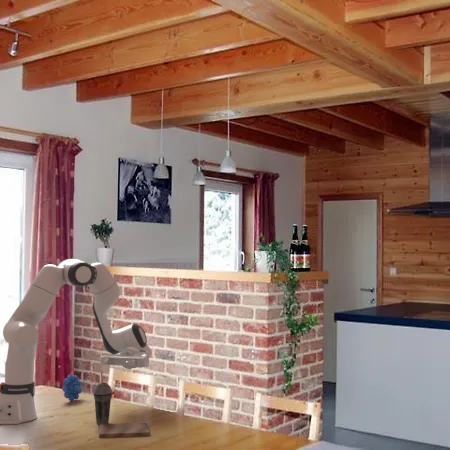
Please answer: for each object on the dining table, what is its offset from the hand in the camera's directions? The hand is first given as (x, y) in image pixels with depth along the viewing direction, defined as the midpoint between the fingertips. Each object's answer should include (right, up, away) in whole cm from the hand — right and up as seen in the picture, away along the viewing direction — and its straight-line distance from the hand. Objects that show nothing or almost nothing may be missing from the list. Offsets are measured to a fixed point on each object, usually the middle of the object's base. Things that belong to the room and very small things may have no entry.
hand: (116, 363), depth 274 cm
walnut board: (+7, -20, -24) cm, 32 cm away
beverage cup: (-4, -21, -13) cm, 25 cm away
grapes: (-23, -22, +25) cm, 40 cm away
